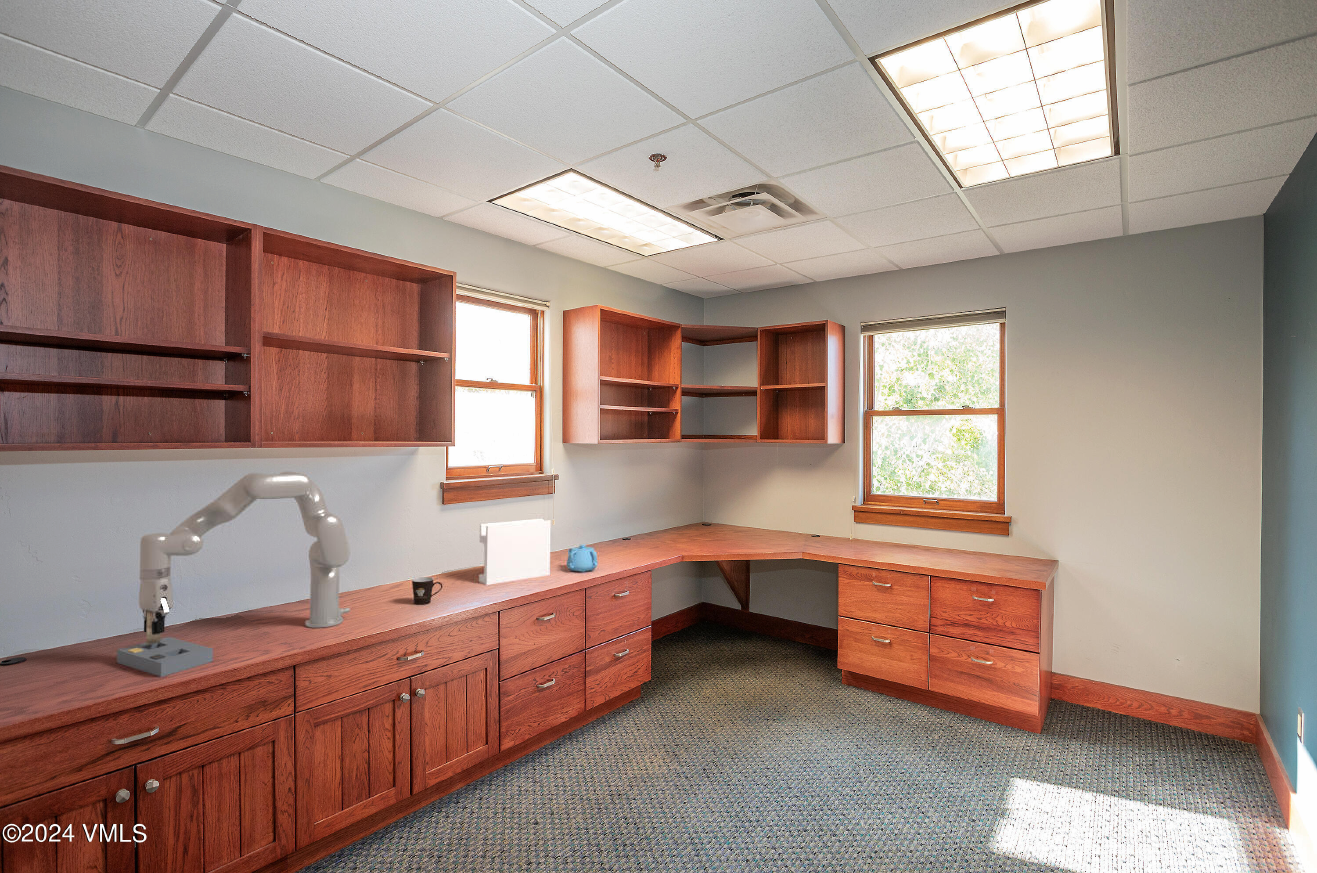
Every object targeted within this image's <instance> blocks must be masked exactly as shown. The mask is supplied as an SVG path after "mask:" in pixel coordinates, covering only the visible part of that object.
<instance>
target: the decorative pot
mask: <svg viewBox="0 0 1317 873" xmlns="http://www.w3.org/2000/svg"><path fill="white" fill-rule="evenodd" d="M567 552H568V554H567V555H568V556H567V560H566V567H567V568H568V569H569V570H571V572H580V573H586V572H588V571H590V572H591V571H594V569H596V568H597V567H598V562H599V561H598V553H597V552H596V550H595V548H594V547H590V546H588V547H587V545H586V544H579V546H578V547H577V546H576V547H571V548H569V549H568V551H567Z"/></svg>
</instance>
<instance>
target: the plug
mask: <svg viewBox="0 0 1317 873" xmlns="http://www.w3.org/2000/svg"><path fill="white" fill-rule="evenodd" d="M159 610H162V609H161V608H159ZM159 613H161V612H159ZM159 613H157V616H158V614H159ZM153 621H154V620H153V612H152V611H148V610H147V632H145V633H146V634H145V635H146V638H145V639H146V640H145V642H146V644H154V643H159V642H161V638H162V633H158V634H154V635H153V634H152V622H153Z"/></svg>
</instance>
